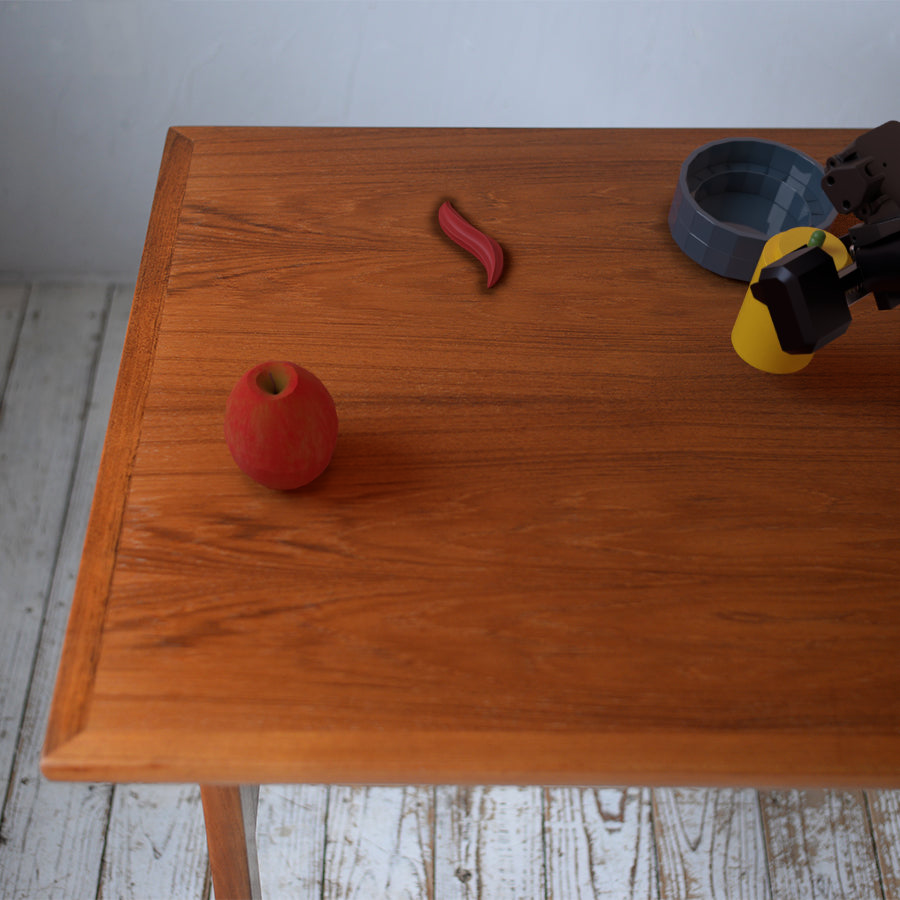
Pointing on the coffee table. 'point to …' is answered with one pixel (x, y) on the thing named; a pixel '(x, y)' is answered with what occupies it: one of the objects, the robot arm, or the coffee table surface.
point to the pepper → (754, 321)
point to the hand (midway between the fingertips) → (784, 272)
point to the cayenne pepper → (472, 241)
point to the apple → (281, 425)
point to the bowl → (744, 201)
